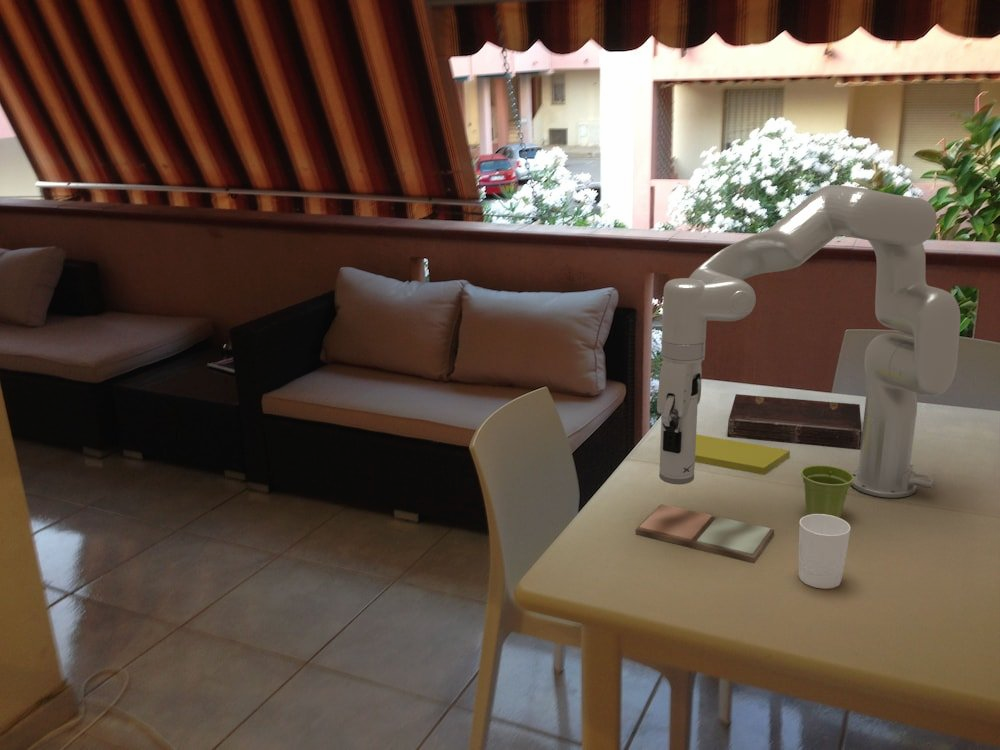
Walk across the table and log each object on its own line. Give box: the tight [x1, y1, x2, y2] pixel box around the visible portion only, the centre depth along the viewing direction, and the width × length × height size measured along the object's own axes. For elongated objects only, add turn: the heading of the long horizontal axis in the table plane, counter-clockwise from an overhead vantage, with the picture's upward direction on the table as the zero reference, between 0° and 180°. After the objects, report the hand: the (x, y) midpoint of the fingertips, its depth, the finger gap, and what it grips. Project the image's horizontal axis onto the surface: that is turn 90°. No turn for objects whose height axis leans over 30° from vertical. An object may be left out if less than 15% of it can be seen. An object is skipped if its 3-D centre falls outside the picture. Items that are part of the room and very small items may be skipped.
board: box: [635, 504, 775, 564], centre depth 170 cm, size 22×12×1 cm, turn 59°
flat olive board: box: [695, 433, 791, 476], centre depth 205 cm, size 12×2×24 cm
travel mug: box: [658, 373, 702, 485], centre depth 167 cm, size 6×7×20 cm
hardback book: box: [726, 393, 863, 451], centre depth 220 cm, size 29×19×5 cm, turn 71°
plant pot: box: [800, 464, 854, 518], centre depth 175 cm, size 9×9×9 cm
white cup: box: [798, 514, 852, 590], centre depth 153 cm, size 8×8×10 cm
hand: (679, 444), depth 168 cm, fingers closed on travel mug, 6 cm apart
